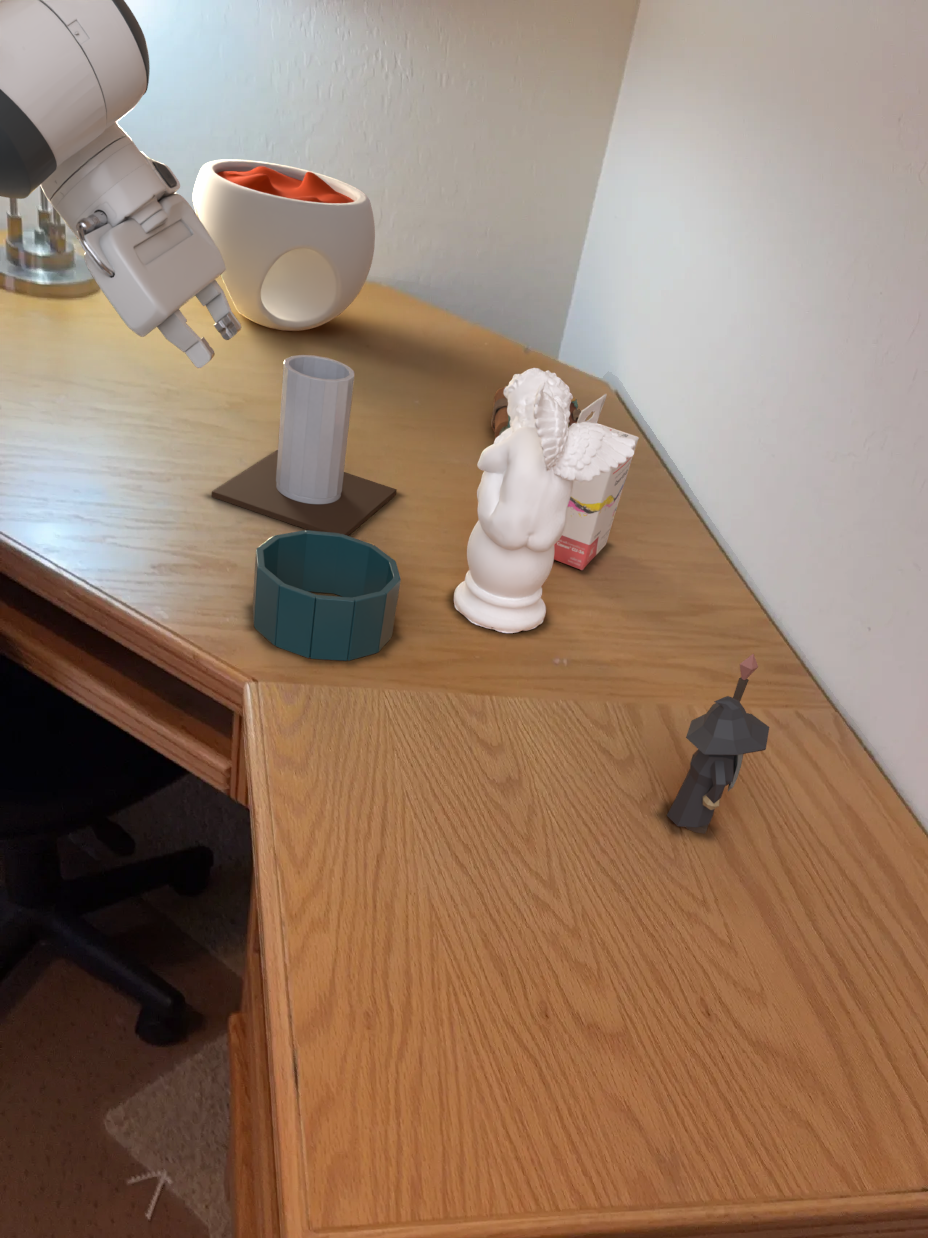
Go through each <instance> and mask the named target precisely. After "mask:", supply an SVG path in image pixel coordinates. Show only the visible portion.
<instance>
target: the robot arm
mask: <svg viewBox="0 0 928 1238" xmlns="http://www.w3.org/2000/svg"><path fill="white" fill-rule="evenodd" d="M142 29H143V28H142V27H141V25H140V23H139V21H138V19H137V18H136V16H135V14H134V12H133V11H132V10H131V8H130V6H129V5H128V3H127V2H126V0H0V197H3V198H8V199H19V200H22V199H27V198H28V197H29V196H30V195H31V194H32V193H33V192H34V191H35V190H36V189H38V188H39V187H41V190H42V192H43V194H44V197H45V198H46V199H47V201H48V202H49V204H50V205H51V206H52V207H53V209H54V210H55V211H56V213H57V214H58V215H59V217H60V218H61V219H62V220H63V222H64V223H65V224H66V226H67V227H68V228H69V229H70V230H71V232H72V233H73V235H74V236H75V237H76V239H77V240H78V241H79V245H80V247H81V248H82V250H83V251H84V255H83V258H84V259H83V260H84V263H85V265H86V267H87V270H88V272H89V273H90V275H91V277H92V278H93V280H94V281H95V283H96V284H97V286H98V287H99V289H100V291H101V292H102V293H103V295H104V296H105V298H106V299H107V301H108V302H109V303H110V305H111V306H112V308H113V309H114V311H115V312H116V313H117V315H118V316H119V318H120V319H121V320H122V322H123V323H124V324H125V325H126V327H127V328H128V329H129V330H131V331H132V332H133V333H134V334H136V336H139V337H141V338H144V337H146V336H147V335H148V334H150V333H151V332H152V331H153V330H155V329H156V328H157V329H158V330H159V332H160V333H161V335H163V337H164V339H166V340H167V341H168V342H170V343H171V344H172V345H173V346H175V347H176V348H177V349H179V350H180V351H181V352H182V353H184V354H185V355H186V356H187V358H188V359H189V360H190V361H191V363H192V364H193V365H194V367H196V368H197V369H202V368H203V367H205V366H206V365H207V364H208V363H209V362H211V361H212V359H214V357H215V350H214V349H213V348H212V346H211V345H210V344H209V342H208V341H207V339H206V338H205V337H204V336H202V337H200V336H199V335H198V334H197V333H196V332H195V331H194V330H193V329H192V327H190V326H189V324H187V322H188V319H187V317H186V316H185V315H184V314H183V313H182V311H181V310H180V309H181V308H182V307H183V306H184V305H186V304H187V303H188V302H190V301H191V300H192V299H193V298H194V297H195V298H196V299H197V300H198V302H199V303H200V304H201V306H202V307H205V308H206V309H207V311H208V313H209V314H210V316H211V318H212V320H213V321H214V324H213V327H214V328H215V329H216V331H217V332H218V333H219V334H220V336H221V338H222V339H223V340H225V341H229V340H231V339H232V338H233V337H235V336H236V335H237V334H238V333H239V332H240V331H241V329H242V323H240V321H239V320H238V318H237V317H236V315H235V314H234V313H233V311H232V308H231V306H230V304H229V301H228V299H227V297H226V294H225V291H224V289H223V287H221V285H220V284H219V282H218V281H217V279H218V278H219V277H221V274H222V273H223V272H225V270H226V267H225V263H224V260H223V258H222V255H221V253H220V251H219V249H218V247H217V246H216V244H215V243H214V241H213V239H212V238H211V236H210V235H209V233H208V231H207V230H206V228H205V227H204V225H203V224H202V222H201V221H200V219H199V218H198V216H197V215H196V213H195V209H194V208H193V207H192V206H191V204H190V203H189V202H188V201H187V199H186V198H185V197H184V196H182V195H181V194H179V193H177V191H178V190H179V189H181V183H180V181H179V179H178V177H177V176H176V175H175V173H174V172H173V171H172V169H171V168H170V167H169V166H168V165H167V164H165V163H163V162H159V161H157V160H155V159H152V158H151V157H149V156H148V155H146V153H145V152H143V151H140V149H139V148H138V147H137V145H136V143H135V142H134V141H133V140H132V138H131V137H130V136H129V134H128V133H127V132H126V131H125V130H124V129H123V128H122V127H121V126H120V125H119V123H118V122H119V121H120V120H121V119H122V118H123V117H125V116H126V115H127V114H129V113H130V112H131V111H132V110H134V109H135V108H136V107H137V105H138V104H139V102H140V101H141V99H142V97H143V96H144V95H145V94H146V93H147V91H148V88H149V83H150V69H151V68H150V67H151V66H150V65H151V64H150V54H149V49H148V43H147V40H146V37H145V34H144V31H143V30H142Z"/></svg>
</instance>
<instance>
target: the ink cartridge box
mask: <svg viewBox="0 0 928 1238" xmlns="http://www.w3.org/2000/svg"><path fill="white" fill-rule="evenodd" d="M606 399H607V393H604V394H603V395H602V396H600V397H599V398H597V399H596V400H594V401H593V402H591V403H590V404H589V405H587V406H586V407H584V408H583V409H582V410H580V411H581V413H580V415H579V417H578V421H577V423H581V422H584V421H585V422H590V423H598V421H599V419H600V416H601V413H602V410H603V407H604V405H605V402H606ZM592 413H593V414H592ZM591 414H592V416H591V417H589V416H590V415H591ZM588 417H589V418H588ZM600 424H601V423H600ZM601 425H603V427H606V428H607V429H608V430H610V431H612V432H614V433H617V434H619V435H618V436H619V437H625V438H629V439H633V440H635V446H634V447H633V448H632V449H633V450H634V452H635V451H636V448H637V445H638V443H639V442H638V441H639V439H640V437H639V436H637V435H635V434H631V433H629V432H625V431H622V430H619V429H617V428H616V429H615V428H614V427H610V426H607V425H604V424H601ZM633 457H634V455H633V456H632V457H629V458H626V459H627V460H626V462H625V463H623V464H618V467H617V468H614V469H613V468H610V471H609V472H607V473H602V472H600V475H599V476H593V479H592V480H591V481H589V482H587V481H583V482H581V483H580V482H577V481H576V480H575V479H574V483H573V489H572V493H571V497H570V500H569V503H568V507H567V514H566V524H565V528H564V531H563V534H562V536H561V538H560V539H559V540H558V541H557V542H556V543H555V544H554V550H555V551H554V561H557V562H560V563H562V564H564V565H567V566H569V567H573V568H575V569H577V570H580V571H584V570H585V568H586V567H587V566H588V565H589V564H590V562H592V560H593V559H594V558H596V556H597V555H598V554H599V553H600V552H601V551H602V549H603V548H605V547H606V546H607V544H608V540H609V535H610V532H611V529H612V526H613V523H614V519H615V516H616V512H617V509H618V507H619V503H620V499H621V496H622V493H623V489H624V486H625V483H626V480H627V477H628V474H629V470H630V467H631V464H632V461H633Z"/></svg>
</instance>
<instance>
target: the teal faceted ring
mask: <svg viewBox="0 0 928 1238" xmlns="http://www.w3.org/2000/svg"><path fill="white" fill-rule="evenodd" d="M253 579H254V580H253V594H252V618H253V620H252V621H253V627H254V629H255V630H256V631H257V632H258V633H260V635H261V636H263V637H264V638H265V639H266V640H267V641H268V642H269V643H271V644H272V645H273V646H275V647H276V648H279V649H281V650H283V651H287V652H289V653H293V654H295V655H298V656H301V657H304V658H307V659H310V660H311V659H312V660H325V661H327V660H328V661H339V662H340V661H342V662H349V661H353V660H357V659H361V658H364V657H367V656H371V655H374V654H377V653H380V651H382V649H384V647H385V645H387V644H388V643H389V642H390V640H391V639H392V637H393V634H394V626H395V619H396V612H397V607H398V600H399V593H400V587H401V581H402V578H401V575H400V571H399V568H398V564H397V561H396V560H395V559H394V558H392V557H391V556H390V555H388V554H387V553H386V552H384V551H383V550H382V549H380V548H379V547H378V546H376V545H375V544H373V543H370V542H367V541H364V540H361V539H358V538H355V537H353V536H350V535H349V536H347V535H344V534H341V535H340V533H330V532H320V531H310V530H307V529H304V530H298V531H297V530H296V531H292V532H286V533H280V534H275V535H272V536H271V537H269V538H268V539H267V540H266V541H264V542H263V543H262V544H260V545H259V546H257V547H256V548H255V559H254V577H253ZM316 593H321V594H316ZM323 593H324V595H323ZM325 594H333V595H325ZM335 595H336V596H335Z"/></svg>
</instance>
